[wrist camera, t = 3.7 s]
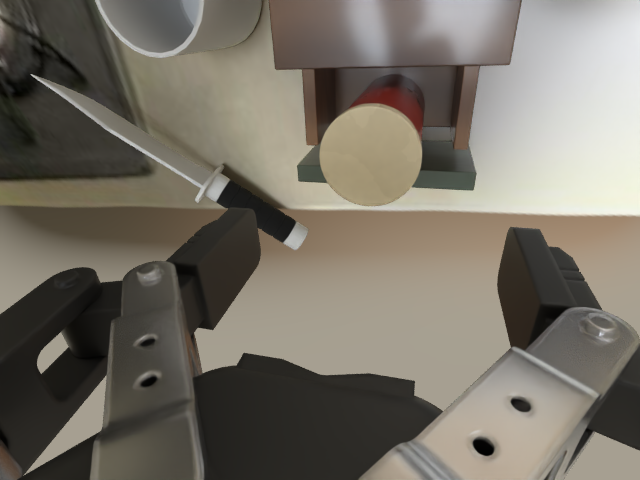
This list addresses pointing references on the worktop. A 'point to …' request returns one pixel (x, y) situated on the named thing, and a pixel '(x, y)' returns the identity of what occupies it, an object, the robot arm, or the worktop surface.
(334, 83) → the drawer
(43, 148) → the worktop surface
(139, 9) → the cup
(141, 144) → the knife
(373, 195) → the tin
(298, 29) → the cabinet
